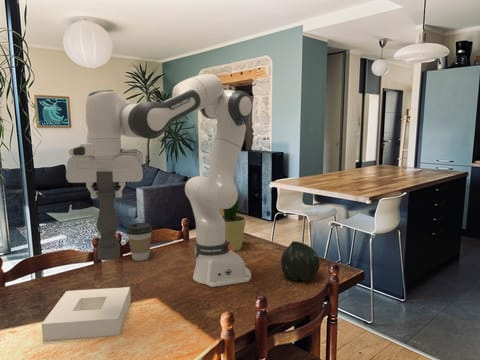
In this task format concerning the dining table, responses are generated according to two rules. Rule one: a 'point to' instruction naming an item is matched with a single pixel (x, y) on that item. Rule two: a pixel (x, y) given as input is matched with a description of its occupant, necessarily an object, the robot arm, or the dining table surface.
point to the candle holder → (107, 218)
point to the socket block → (87, 314)
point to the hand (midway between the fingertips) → (106, 197)
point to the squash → (299, 261)
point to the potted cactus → (234, 226)
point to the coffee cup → (139, 240)
